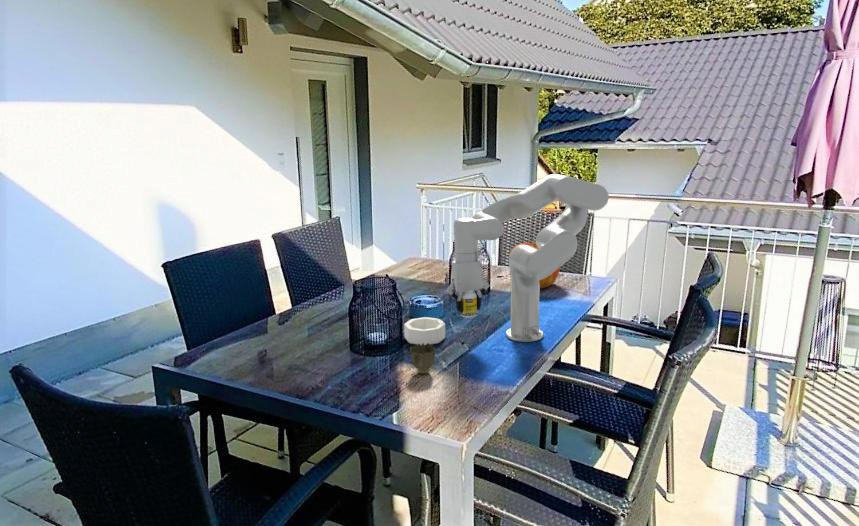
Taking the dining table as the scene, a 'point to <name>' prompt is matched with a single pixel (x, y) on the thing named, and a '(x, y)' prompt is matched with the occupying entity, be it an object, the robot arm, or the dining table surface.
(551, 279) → the pumpkin
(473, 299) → the supplement bottle
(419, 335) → the white round bowl
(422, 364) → the cup
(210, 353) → the dining table surface
